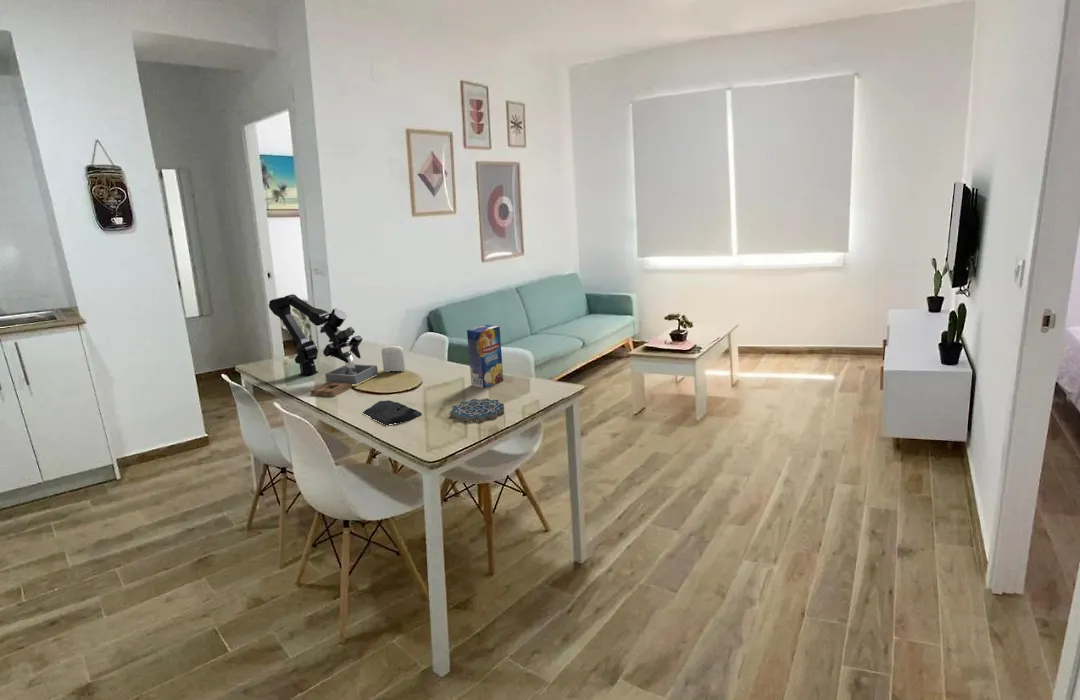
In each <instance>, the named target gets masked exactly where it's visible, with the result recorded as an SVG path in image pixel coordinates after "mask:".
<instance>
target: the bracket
mask: <svg viewBox="0 0 1080 700" xmlns="http://www.w3.org/2000/svg"><path fill="white" fill-rule="evenodd" d="M351 386H352V383H343V382H330V381H329V382H327V383H326V382H325V383H323V384H320V385H318V386H317V387H315V388H313V389H310V395H311V394H314V396H321V395H325V396H324V397H332V396H335V397H337V396H338V395H340V394H343V393H345V392H346V391H348V390H350V388H351ZM352 387H353V386H352ZM351 389H352V388H351ZM336 395H337V396H336Z"/></svg>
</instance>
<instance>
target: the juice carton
mask: <svg viewBox="0 0 1080 700" xmlns="http://www.w3.org/2000/svg"><path fill="white" fill-rule="evenodd" d="M500 327H501V326H499V325H494V324H493V325H492V324H484V325H481V326H477V327H474V328H470V329H467V330H466V334H467V346H468V357H469V359H468V360H469V370H470V382H471V386H473V387H477V388H482V389H485V388H487V387H490V386H493V385H496V384H498V383H500V382H503V381H504V370H503V356H502V344H501V343H502V341H501V331H500V330H501V329H500Z"/></svg>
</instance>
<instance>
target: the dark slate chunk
mask: <svg viewBox="0 0 1080 700" xmlns="http://www.w3.org/2000/svg"><path fill="white" fill-rule="evenodd" d="M362 413H364V414H366V415H368V416H370V417H371V418H372V419H375V420H377V421H379V422H381V423H383V424H385V425H389V424H394V423H399V424H401V423H400V422H403V423H406V422H405V421H407V422H409V421H411V420H415V419H416V418H419V416H422V413H423V412H421V411H419V410H417V409H415V408H412V407H409V406H407V405H405V404H402V403H400V402H398V401H393V400H390V399H388V400H379V401H377V402H376V403H374V404H373V405H372V406H370V407H368V408H366V409H364V411H362ZM372 419H371V420H372Z"/></svg>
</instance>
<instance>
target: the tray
mask: <svg viewBox="0 0 1080 700" xmlns="http://www.w3.org/2000/svg"><path fill="white" fill-rule="evenodd" d="M354 365H355V368H356V371H357V374H356V375H349V373H348V370H347V367H346V364H344V365H342V366H340V367H337V368H336V369H333V370H331V371H329V372H327V373H325V374H324V375H325V383H327V382H329V381H330V382H343V383H352V384H357V383H360V382H362V381H364V380H366V379H368V378H371V377H372V376H375V375H377V374H378V375H379V371H378V366H377V365H373V364H372V365H371V364H361V363H360V364H358V363H356V364H355V363H354Z"/></svg>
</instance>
